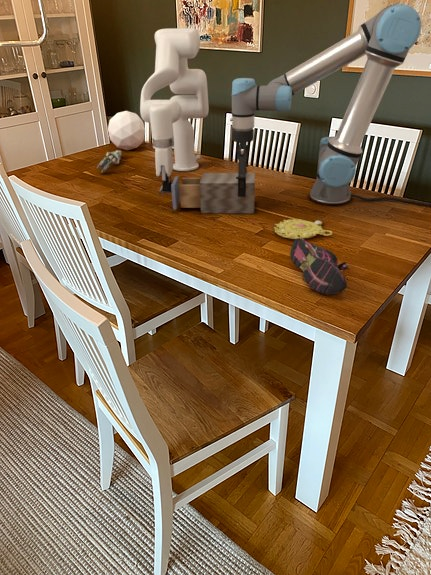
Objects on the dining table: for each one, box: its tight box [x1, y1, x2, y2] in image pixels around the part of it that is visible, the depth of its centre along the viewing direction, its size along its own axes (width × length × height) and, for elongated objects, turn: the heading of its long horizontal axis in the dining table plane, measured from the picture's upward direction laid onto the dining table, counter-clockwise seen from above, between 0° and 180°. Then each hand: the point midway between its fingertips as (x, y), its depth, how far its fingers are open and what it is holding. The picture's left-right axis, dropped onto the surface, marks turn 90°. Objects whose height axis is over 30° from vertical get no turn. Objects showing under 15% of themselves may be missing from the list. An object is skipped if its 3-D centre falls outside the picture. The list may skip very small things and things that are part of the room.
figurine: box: [96, 150, 123, 174], centre depth 213 cm, size 7×8×30 cm
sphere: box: [107, 110, 146, 151], centre depth 234 cm, size 19×20×20 cm
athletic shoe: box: [289, 238, 350, 295], centre depth 119 cm, size 11×22×12 cm
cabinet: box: [200, 172, 256, 214], centre depth 163 cm, size 20×11×11 cm, turn 85°
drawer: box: [157, 175, 201, 211], centre depth 164 cm, size 24×10×9 cm, turn 85°
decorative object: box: [273, 218, 333, 240], centre depth 145 cm, size 21×2×20 cm
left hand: (167, 192), depth 165 cm, fingers closed
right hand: (242, 190), depth 162 cm, fingers closed on cabinet, 11 cm apart
